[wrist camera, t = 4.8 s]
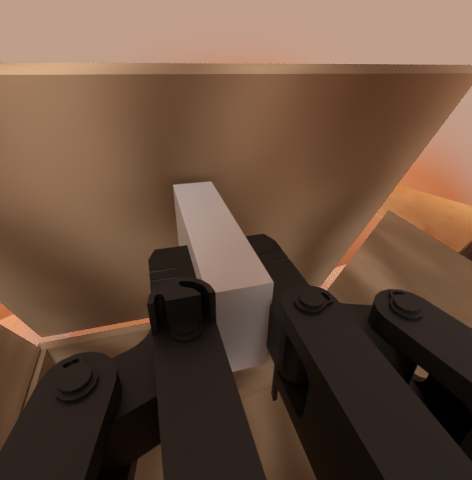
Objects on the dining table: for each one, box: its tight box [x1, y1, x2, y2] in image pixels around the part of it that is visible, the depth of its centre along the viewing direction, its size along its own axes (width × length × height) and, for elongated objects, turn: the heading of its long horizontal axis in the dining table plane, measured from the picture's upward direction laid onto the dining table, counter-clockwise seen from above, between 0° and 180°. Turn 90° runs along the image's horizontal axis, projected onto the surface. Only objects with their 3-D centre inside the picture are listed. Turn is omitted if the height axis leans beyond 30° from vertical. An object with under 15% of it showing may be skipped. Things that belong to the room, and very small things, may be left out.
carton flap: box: [0, 63, 472, 337], centre depth 16 cm, size 20×17×1 cm
